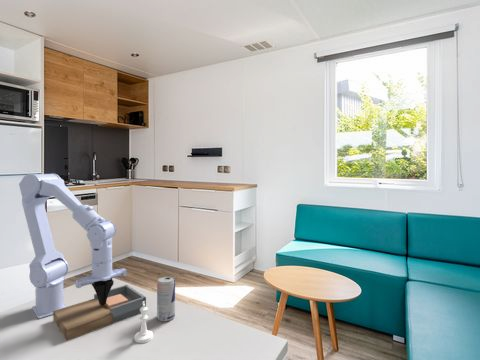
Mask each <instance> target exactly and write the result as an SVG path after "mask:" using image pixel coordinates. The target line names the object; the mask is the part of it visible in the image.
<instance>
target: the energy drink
mask: <svg viewBox="0 0 480 360" xmlns="http://www.w3.org/2000/svg"><path fill="white" fill-rule="evenodd" d="M156 288H157V289H156V300H157V301H156V304H157V305H156V317H157V320H158V321H160V322H169V321H171V320H173V319H174V318H175V316H176V279H175V277H174V276H169V275H167V276H166V275H164V276H161V277H159V278H158V279H157V282H156Z"/></svg>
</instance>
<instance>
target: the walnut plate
mask: <svg viewBox="0 0 480 360" xmlns="http://www.w3.org/2000/svg"><path fill="white" fill-rule="evenodd" d="M112 315H113V314H112ZM112 315H111V313H110V310H108V309H107V308H106V307H105V306H104V305H100V304H99V301H98V300H97V299H94V298H91V299H88V300H85V301H82V302H78V303H76V304H72V305H69V306H66V307H65V308H62V309H58V310H55V311H53V314H52V316H53V319H52V320H53V322H54V324H55V326H56V327H57V328H58V330H59V331H60V332H61V333H62V335H63V336H64V338H65V340H66V341H67V342H68V341H71V340H73V339H75V338H78V337H81V336H83V335H86V334H89V333H91V332H93V331H97V330H99V329H102V328H105V327H107V326H110V325H113V324H114V323H111V322H113V319H111V318H113V316H112ZM111 316H112V317H111ZM111 320H112V321H111Z"/></svg>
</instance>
